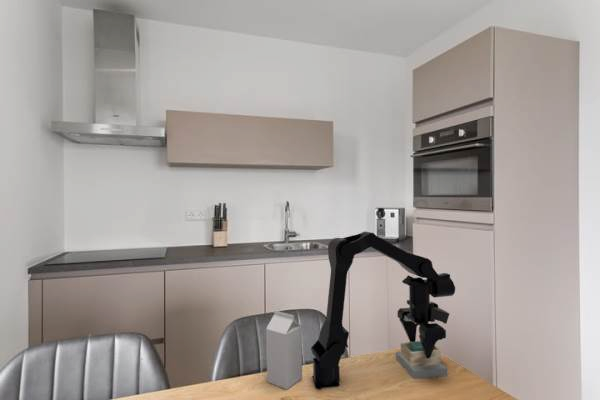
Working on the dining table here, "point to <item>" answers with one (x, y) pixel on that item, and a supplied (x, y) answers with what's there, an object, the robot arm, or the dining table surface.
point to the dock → (422, 369)
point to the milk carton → (284, 350)
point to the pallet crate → (419, 356)
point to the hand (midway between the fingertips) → (420, 350)
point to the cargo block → (416, 346)
